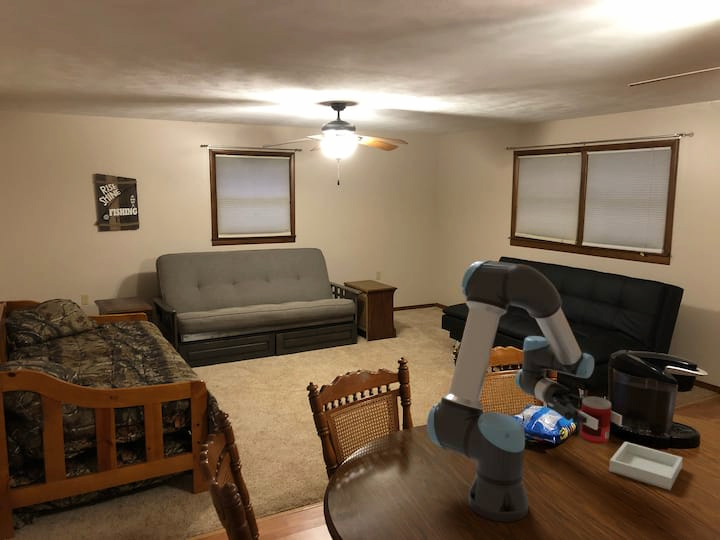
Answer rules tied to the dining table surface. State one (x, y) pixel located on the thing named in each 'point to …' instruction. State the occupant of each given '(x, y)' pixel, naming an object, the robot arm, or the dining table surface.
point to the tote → (646, 465)
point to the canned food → (602, 413)
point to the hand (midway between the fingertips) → (608, 422)
